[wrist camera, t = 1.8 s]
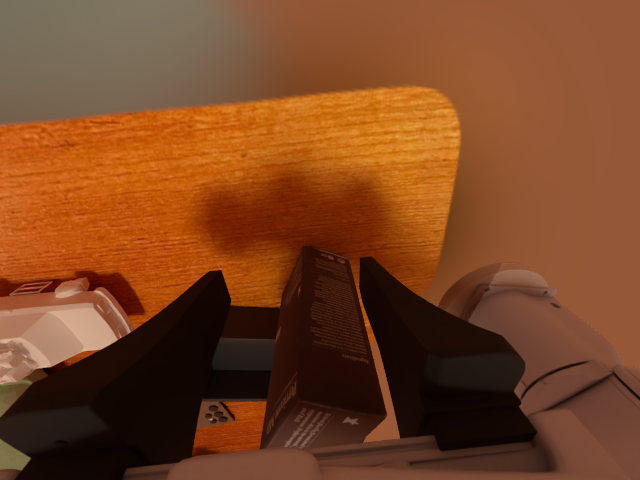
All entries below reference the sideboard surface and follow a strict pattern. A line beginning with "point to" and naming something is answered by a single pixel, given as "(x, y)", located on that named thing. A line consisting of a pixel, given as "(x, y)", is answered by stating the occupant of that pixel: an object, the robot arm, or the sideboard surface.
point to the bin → (243, 356)
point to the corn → (3, 398)
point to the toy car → (56, 326)
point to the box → (321, 360)
